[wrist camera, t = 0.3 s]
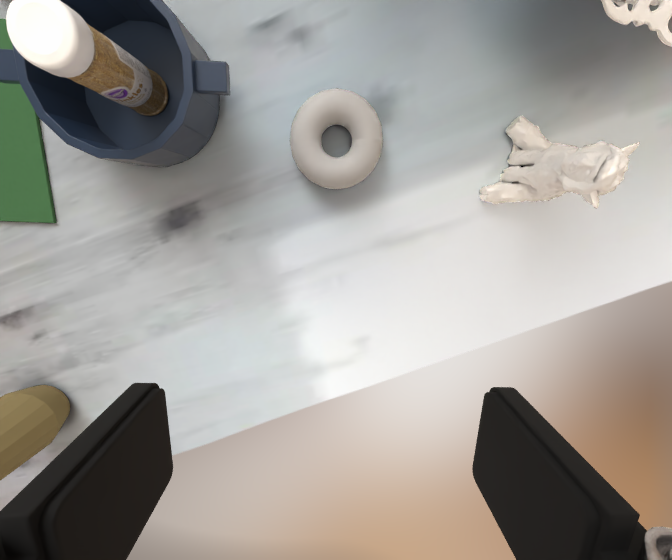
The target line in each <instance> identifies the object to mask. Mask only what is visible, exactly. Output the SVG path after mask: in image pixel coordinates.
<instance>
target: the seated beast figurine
mask: <svg viewBox="0 0 672 560" xmlns="http://www.w3.org/2000/svg"><path fill="white" fill-rule="evenodd" d="M506 133H507V134H508V136H509V137H511V138H512V140H513V143H514V145H513V148H512V151H511V154H510V155H509V157H510V158H509V159H508V160H507V162H508V163H509V164H510V166H509V168H506V169H504V170H503V172H504V173H502V174H501V175H500V180H499V182H498V183H495V184H494V185H487V186H484V187H482V188H481V189H480V191H479V192H480V193H481V195H479V197H480V199H481V200H482V201H484V202H492V204H502V203H505V202H512V203H514V202H524V201H530V202H538V201H542V202H543V201H544V200H547V201H549V200H551V199H553V198H558V197H560V196H562V195H563V194H564V193H566V192H573V193H575V194H579V195H582V197H583V199H584V200H585V201H586V202H588V203H589V204H591V205H593V206H594V207H595V208H596V209H597V208H598V206H599V198H598V196H601V195H605V194H607V193H609V192H612V191H614V190H615V189H616V186H617V185H619V184H620V182H621V181H622V180H624V173H625V172H626V171H627V170H628V163H629V158H628V156H630V155H631V154H632V153H633V152H634V150H635V149H636V148H637V147H638V145H639V144H640V142H638V143H635V144H632V145H630V146H627V147H625V148H623V149H621V148H618V147H616V146H614V145H613V144H607V143H606V142H604V141H599V142H597V143H596V144H591V145H584V146H583V147H582V148H580V149H579V148H577V146H572V145H570V146H569V145H567V144H566V145H563V144H560V143H554V144H552V143H551V142H550V141H549V140H548V139H546V138H545V136H544V135H542V133H541V132H540V130H539V128H538V126H535V125H533V124H532V123H531V122H529V121H528V120H527V119H526V118H525V117H523V116H522V115H521V116H519V117H518V118H516V119H515V120H514V121H513V122H512V123H511V125H510V126H508V127H507V129H506ZM520 148H521V149H522V150H519V149H520ZM512 165H513V167H512ZM519 165H526V166H525V167H523V168H521V167H520V166H519ZM501 181H504V182H501ZM511 182H512V183H511Z"/></svg>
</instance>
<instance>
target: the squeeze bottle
mask: <svg viewBox="0 0 672 560" xmlns="http://www.w3.org/2000/svg"><path fill="white" fill-rule="evenodd" d="M69 413H70V404H69V401H68V398H67V397H66V396H65V395H64V394H63V392H62V391H60V390H58V389H56V388H55V387H52V386H47V385H38V386H33V387H30V388H26V389H23V390H19V391H15V392H12V393H8V394H5V395H4V396H2V397H0V480H2V479H3V478H4V477H6V476H7V475H8V474H10V473H11V472H12V471H14V470H15V469H16V468H18V467H19V466H20V465H22V464H23V463H25V462H26V461H27V460H29V459H30V458H31V457H33V456H34V455H35V454H37V453H38V452H39V451H41V450H42V449H43V448H45V447H46V446H47V445H49V444H50V443H51V442H52V441H53V439H54V438H55V437H56V435H57V434H58V432H59V430H60V429H61V427H62V425H63V423H64V422H65V420H66V418H67V417H68V415H69Z"/></svg>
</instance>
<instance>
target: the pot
mask: <svg viewBox="0 0 672 560" xmlns="http://www.w3.org/2000/svg"><path fill="white" fill-rule="evenodd" d="M60 1H62V2H63V3H65V4H66V5H67V6H69V7H70V8H71V9H73V10H74V11H75V12H77V13H78V14H79V15H80V16H81V17H82V18H83V19H84V21H85V22H86V23H87V24H89V25H90V26H91V27H93V28H94V29H95V30H97V31H98V32H100V33H102V34H103V35H105V36H106V37H108V38H109V39H110V40H112V41H113V42H114V43H116V44H117V45H118V46H120V47H121V48H122V49H124V50H125V51H126V52H128V53H129V54H131V55H132V56H133V57H135V58H136V59H137V60H139V61H140V62H141V63H142V64H143V65H144V66H146V67H147V68H148V69H150V70H152V71H154V72H156V73H157V74H158V75H159V76H160V77H161V78H162V79H163V81H164V82H165V84H166V87H167V90H168V102H167V105H166V107H165V108H164V110H163V111H162V112H160V113H159V114H157V115H153V116H149V115H148V116H146V115H142V114H139V113H137V112H136V111H135V110H133V109H131V108H129V107H127V106H124V105H121V104H119V103H117V102H115V101H113V100H111V99H109V98H106V97H104V96H102V95H101V94H99V93H97V92H96V91H93V90H91V89H89V88H87V87H85V86H83V85H81V84H78V83H76V82H74V81H72V80H70V79H68V78H65V77H59V76H56V75H53V74H51V73H49V72H47V71H45V70H43V69H41V68H39V67H37V66H35V65H33V64H31V63H30V62H28V61H27V60H26V59H25V58H24V57H23V56H21V54H20V53H19V52H18V51H17V50H16V48H15V47H14V45H13V43H12V46H13V49H0V82H2V83H8V84H20V85H21V87H22V88H23V90H24V92H25V94H26V96H27V97H28V99H29V101H30V103H31V105H32V107H33V108H34V110H35V112H36V114H37V116H38V117H39V118H40V119H41V120H42V121H43V122H44V123H45V124H46V125H47V126H49V127H50V128H51V129H52V130H53V131H54V132H55V133H56V134H57V135H58V136H59V137H60V138H61V139H62V140H63V141H65V142H66V143H67V144H69V145H71V146H73V147H75V148H78V149H80V150H82V151H84V152H86V153H89V154H91V155H93V156H95V157H98V158H101V159H107V160H113V161H119V162H124V163H130V164H136V165H141V166H162V167H168V166H171V165H175V164H178V163H181V162H184V161H186V160H188V159H190V158H191V157H193V156H194V155H195V154H197V153H198V152H199V151H200V150H201V149H202V148H203V147H204V146H205V144H206V143H207V142H208V140H209V139H210V137H211V135H212V133H213V131H214V129H215V126H216V123H217V119H218V114H219V104H220V97H219V95H230V77H229V65H228V64H227V63H226V62H221V61H209V59H208V57H207V54H206V52H205V51H204V49H203V48H202V47H201V46H200V45H199V43H198V42H197V41H196V40H195V38H194V37H193V36H192V35H191V34H190V32H189V31H188V30H187V29H186V28H185V26H184V25H183V24H182V23H181V22H180V20H179V19H178V18H177V17H176V15H175V14H174V13H173V12H172V11H171V10H170V9H169V8H168V6H167V5H166V4H165V3H164V2H163V1H162V0H60Z"/></svg>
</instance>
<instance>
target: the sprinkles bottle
mask: <svg viewBox="0 0 672 560" xmlns="http://www.w3.org/2000/svg"><path fill="white" fill-rule="evenodd" d="M6 25H7V31H8V34H9V37H10V39H11V42H12V43H13V45H14V47H15V48H16V50H17V51H18V52H19V53H20V54H21V56H23V57H24V58H25V59H26V60H27V61H28V62H30V63H31V64H33V65H35V66H37V67H39V68H41V69H43V70H45V71H47V72H49V73H51V74H53V75H56V76H59V77H65V78H68V79H70V80H72V81H74V82H76V83H78V84H81V85H83V86H85V87H87V88H89V89H91V90H93V91H96V92H97V93H99V94H101V95H102V96H104V97H106V98H109V99H111V100H113V101H115V102H117V103H119V104H121V105H124V106H127V107H129V108H131V109H133V110H135V111H136V112H137V113H139V114H142V115H146V116H148V115H149V116H153V115H157V114H159V113H160V112H162V111H163V110H164V108H165V107H166V105H167V102H168V90H167V87H166V84H165V82H164V81H163V79H162V78H161V77H160V76H159V75H158V74H157V73H156V72H154V71H152V70H150V69H148V68H147V67H146V66H144V65H143V64H142V63H141V62H140V61H139V60H137V59H136V58H135V57H133V56H132V55H131V54H129V53H128V52H126V51H125V50H124V49H122V48H121V47H120V46H118V45H117V44H116V43H114V42H113V41H112V40H110V39H109V38H108V37H106V36H105V35H103V34H102V33H100V32H98V31H97V30H95V29H94V28H93V27H91V26H90V25H89V24H87V23H86V22H85V21H84V19H83V18H82V17H81V16H80V15H79V14H78V13H77V12H75V11H74V10H73V9H71V8H70V7H69V6H67V5H66V4H65V3H63V2H62V1H60V0H13V1H12V2H11V4H10V5H9V8H8V11H7V16H6Z"/></svg>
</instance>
